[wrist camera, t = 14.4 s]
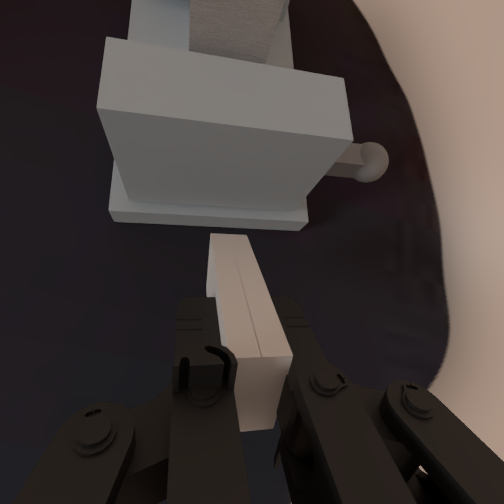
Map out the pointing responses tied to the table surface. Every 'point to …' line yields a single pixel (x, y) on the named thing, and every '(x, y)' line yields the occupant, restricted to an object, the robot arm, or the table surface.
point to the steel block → (234, 28)
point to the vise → (123, 210)
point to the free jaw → (225, 128)
